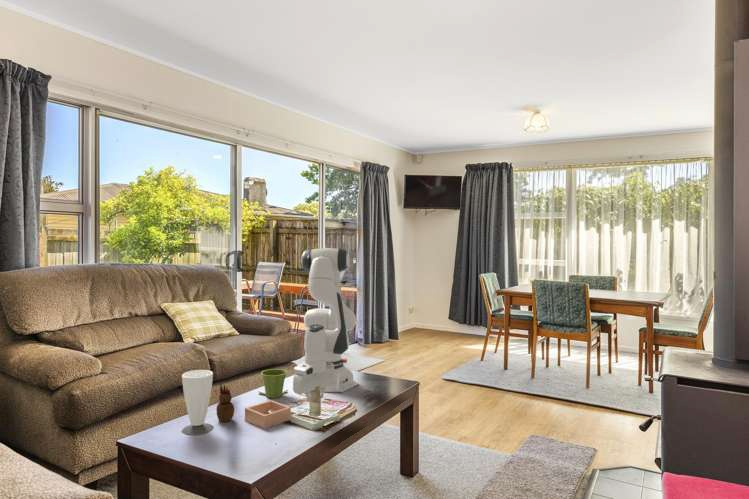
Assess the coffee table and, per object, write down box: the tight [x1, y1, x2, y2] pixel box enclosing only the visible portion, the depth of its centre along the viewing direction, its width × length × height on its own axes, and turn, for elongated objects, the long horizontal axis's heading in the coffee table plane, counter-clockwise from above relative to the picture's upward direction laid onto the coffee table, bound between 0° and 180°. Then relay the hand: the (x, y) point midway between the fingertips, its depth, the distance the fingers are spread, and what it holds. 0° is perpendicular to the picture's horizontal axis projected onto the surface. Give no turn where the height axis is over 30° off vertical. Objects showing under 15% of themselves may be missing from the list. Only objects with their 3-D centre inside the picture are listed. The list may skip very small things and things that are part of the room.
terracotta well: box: [244, 399, 292, 429], centre depth 201 cm, size 13×13×5 cm
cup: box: [181, 369, 214, 436], centre depth 191 cm, size 12×12×22 cm
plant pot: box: [260, 368, 288, 399], centre depth 231 cm, size 12×12×11 cm
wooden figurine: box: [216, 383, 235, 423], centre depth 200 cm, size 7×6×15 cm
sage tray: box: [289, 407, 341, 431], centre depth 201 cm, size 14×14×2 cm
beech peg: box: [309, 386, 322, 417], centre depth 200 cm, size 4×4×12 cm
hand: (315, 399), depth 200 cm, fingers closed on beech peg, 4 cm apart
